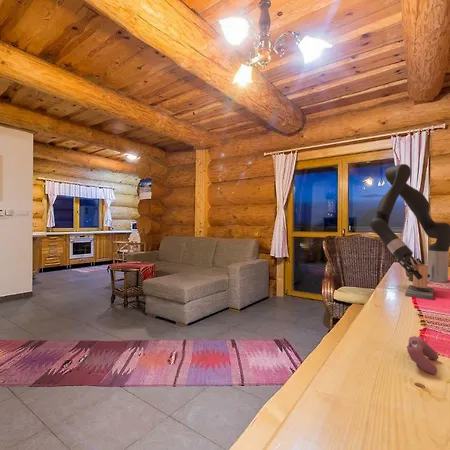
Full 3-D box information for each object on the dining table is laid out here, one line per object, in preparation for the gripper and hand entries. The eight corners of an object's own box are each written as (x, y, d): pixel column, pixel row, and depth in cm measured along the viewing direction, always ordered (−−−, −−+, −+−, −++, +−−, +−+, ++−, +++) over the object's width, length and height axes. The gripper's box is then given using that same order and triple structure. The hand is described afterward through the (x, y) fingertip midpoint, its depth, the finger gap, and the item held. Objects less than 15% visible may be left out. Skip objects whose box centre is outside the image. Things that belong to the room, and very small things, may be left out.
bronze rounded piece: (406, 281, 159) (407, 267, 159) (402, 278, 166) (403, 265, 166) (422, 282, 157) (422, 268, 156) (417, 279, 164) (417, 266, 163)
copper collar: (417, 284, 137) (417, 263, 137) (429, 286, 132) (430, 265, 132) (410, 285, 134) (410, 264, 134) (423, 288, 129) (423, 266, 129)
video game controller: (420, 361, 72) (406, 333, 74) (440, 358, 69) (425, 329, 71) (416, 378, 64) (400, 346, 66) (439, 375, 61) (422, 342, 63)
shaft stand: (409, 287, 144) (410, 266, 144) (433, 290, 138) (434, 268, 138) (405, 295, 128) (405, 272, 128) (432, 299, 122) (433, 274, 122)
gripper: (396, 245, 136) (422, 274, 126) (413, 244, 143) (439, 272, 132) (385, 254, 141) (409, 283, 131) (402, 253, 148) (426, 281, 137)
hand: (424, 277), depth 132 cm, fingers closed on copper collar, 5 cm apart
